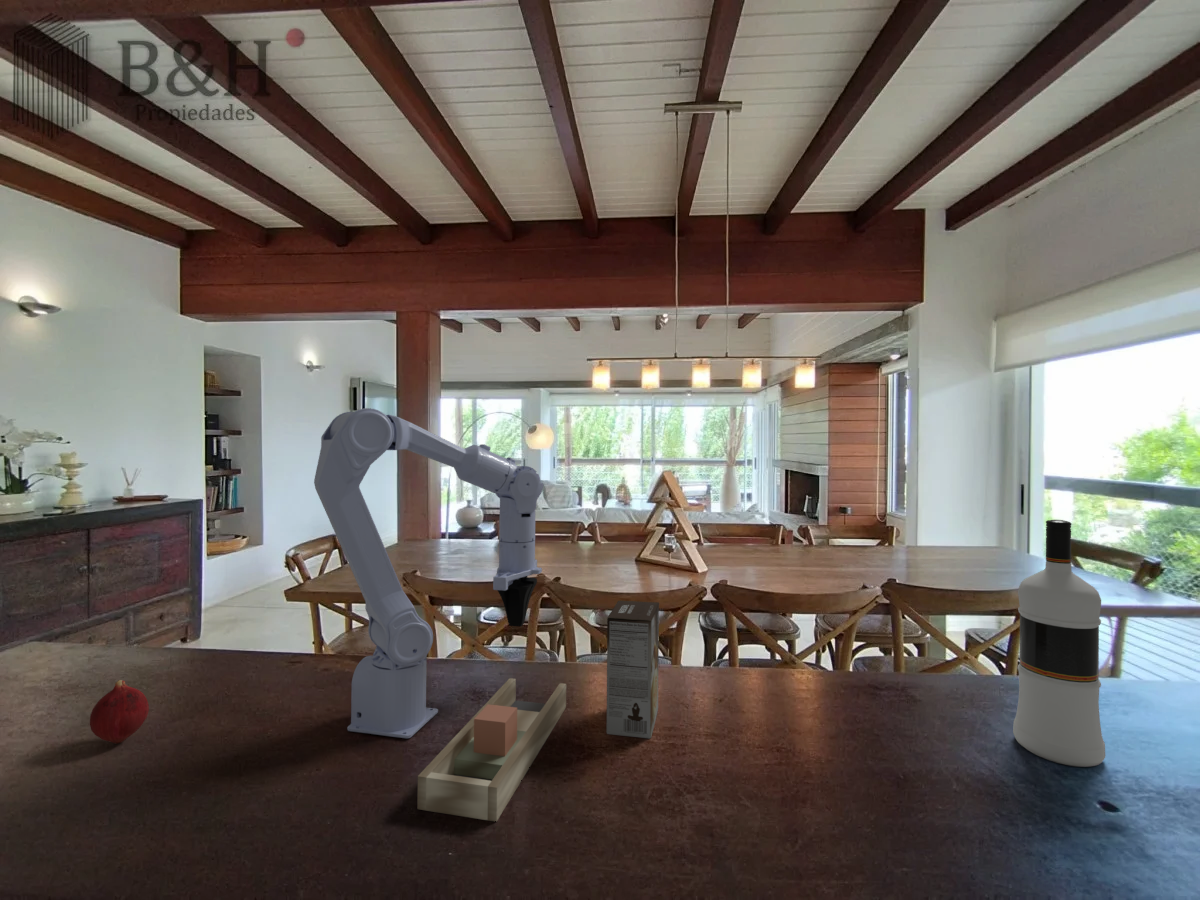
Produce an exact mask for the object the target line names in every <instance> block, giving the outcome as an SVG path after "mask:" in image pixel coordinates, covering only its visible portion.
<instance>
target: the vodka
mask: <svg viewBox="0 0 1200 900" xmlns="http://www.w3.org/2000/svg"><path fill="white" fill-rule="evenodd" d="M1017 596H1018V605H1019V606H1018V608H1017V610H1018V613H1019V664H1018V665H1017V671H1018V680H1019V682H1018V685H1019V686H1018V702H1017V708H1016V714H1015V718H1014V719H1013V722H1012V723H1013V725H1012V726H1013V727H1012V733H1013V735H1014V738H1015V740H1016V742H1017V743H1018V744H1019V745H1021V747H1022V748H1024V749H1026V750H1027V751H1029V752H1030V753H1031V754H1033V755H1035V756H1037V757H1039V758H1042V759H1043V760H1044V759H1045V760H1047V761H1050V762H1053V763H1057V764H1059V765H1064V766H1068V767H1077V768H1090V767H1096V766H1099V765H1101V764H1102V763H1103V761H1104V760H1105V759H1106V743H1105V741H1104V738H1103V735H1102V734H1103V733H1102V727H1101V719H1100V718H1101V717H1100V706H1099V705H1100V702H1099V701H1100V688H1101V687H1102V682H1101V681H1100V679H1099V678H1100V677H1099V672H1100V671H1099V669H1100V668H1099V666H1100V665H1099V663H1100V661H1099V657H1100V656H1099V655H1100V654H1099V653H1100V651H1099V649H1100V647H1099V646H1100V644H1099V643H1100V642H1099V641H1100V640H1099V639H1100V627H1099V626H1100V625H1101V623H1102V619H1101V618H1100V617H1101V609H1102V598H1101V596H1100V593H1099V591H1098V590H1097V588H1095V587H1094V586H1093V585H1092V584H1090V583H1088V582H1087V581H1086V580H1084V579H1083V578H1081V577H1080V576H1078V575H1077V574H1075V573H1074V572H1073V569H1072V522H1070V521H1067V520H1064V519H1049V520H1046V521H1045V568H1044V569H1043V570H1041V571H1038V572H1036V573H1034V574H1032V575H1030V576H1028V577H1026V578H1024V579H1023V580H1022V581H1021V582H1020V583H1019V587H1018V589H1017Z"/></svg>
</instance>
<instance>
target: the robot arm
mask: <svg viewBox="0 0 1200 900" xmlns="http://www.w3.org/2000/svg"><path fill="white" fill-rule="evenodd" d="M320 439H321V442H320V443H321V444H320V451H319V456H318V461H317V464H316V465H317V466H316V469H315V475H314V481H313V484H314V488H315V491H316V493H317V495H318V498H319V499H320V500H319V501H320V502H321V505H322V507H323V509H324V512H325V513H326V517H327V518H328V521H329V522H330V523H329V524H330V525H331V527H332V529H333V531H334V534H335V537H336V539H337V540H338V543H339V545H340V546H341V549H342V551H343V554H344V556H345V558H346V561H347V563H348V565H349V567H350V570H351V572H352V574H353V577H354V579H355V581H356V584H357V585H358V587H359V590H360V592H361V594H362V598H363V600H364V601H365V606H364V607H365V612H366V614H367V617H368V627H367V628H368V629H367V631H368V637H369V638H370V641H371V642H372V643H373V644H374V645H375V649H374V652H373V654H372V655H367V656H365V657H363V658H362V659H361V660H360V661H359V663H358V664H357V665H356V667H355V669H354V672H353V675H352V680H351V694H350V695H351V701H350V702H351V703H350V704H351V707H350V708H351V709H350V710H351V713H350V717H351V718H350V724H349V725H348V726H347V732H354V733H360V734H369V735H370V734H371V735H378V736H385V737H393V738H402V739H410V738H412V737H414V735H415V734H416V733H417V732H418V731H419V730H420V729H422V727H424V726H425V725H426V724H427V723H428V722H429V721H430V720H431V719H433V718H434V716H436V715H437V714H438V713H439V709H438V708H436V707H427V655H428V654H429V652H430V651H431V650H432V649H431V648H432V646H433V642H434V634H433V629H432V627H431V625H430V624H429V623H428V622H427V621H426V620H424V619H423V618H421V617H420V616H419V614H418V612H417V610H416V608H415V605H413V603H412V601H411V600H410V599H409V597H408V596H407V594H406V593H405V591H404V589H403V588H402V585H401V583H400V580H399V578H398V575H397V573H396V571H395V569H394V565H393V564H392V562H391V559H390V556H389V555H388V552H387V549H386V547H385V545H384V543H383V540H382V538H381V535H380V533H379V531H378V529H377V526H376V524H375V521H374V519H373V517H372V514H371V512H370V510H369V507H368V505H367V502H366V500H365V498H364V495H363V493H362V491H361V489H360V486H361V483H362V481H363V479H364V477H365V476H366V474H367V472H368V471H369V469H370V468H371V465H372V464H373V463H374V462H376V461H377V460H378V459H379V458H380V457H381V456H383V454H384V453H386V451H403V450H406V451H409V452H412V453H414V454H417V455H419V456H423V458H424V457H425V458H428V459H431V460H434V461H435V462H439V464H440V463H441V464H444V465H445V466H449V467H452V468H453V469H454V471H455V474H456V476H457V478H458V479H459V480H460V481H463V482H466V483H468V484H471V485H472V486H476V487H478V488H480V489H482V490H485V491H487V492H490V493H492V494H495V495H496V496H497V498H499V523H498V525H499V528H498V529H499V532H498V534H499V535H498V537H499V539H498V542H499V543H498V567H497V570H496V573H495V576H493V579H492V581H493V582H492V583H493V587H492V590H494V591H497V592H498V594H499V597H500V598H501V601H502V603H503V606H504V609H505V614H506V615H505V616H506V618H507V623H508V626H510V627H522V626H523V625H524V624H525V620H526V617H527V611H528V607H529V604H530V599H531V596H532V594H533V591H534V590H535V587H536V586H537V583H538V578H537V577H528V576H532V575H540V574H541V573H543V569H542V567H540V566H539V567H538V559H536V509H537V504H538V503H537V502H538V499H539V497H540V496H541V494H542V492H543V488H544V483H543V482H541V478H540V475H539V473H537V471H536V469H534V468H533V467H531V466H528V465H517V463H516V459H515V458H512V457H509V456H508V457H507V458H506V457H503V456H501V455H499V454H497V453H495V452H493V451H491V446H489V445H487V444H479V445H477V444H472V445H470V446H467V447H465V448H463V447H461V446H459V445H457V444H455V443H453V442H451V441H449V440H447V439H445V438H443V437H441V436H439V435H436V434H435V433H433V432H431V431H429V430H427V429H425V428H423V427H420V426H419V425H417V424H414V423H413V422H411V421H408V420H405V419H404V418H401V417H400V416H396V415H393V414H385V413H383V412H382V411H380V410H378V409H375V408H371V407H370V408H369V407H366V408H360V409H357V410H355V411H346V412H342V413H340V414H339V415H336V416H335V417H334V418H333V419H332V421H331V422H330V423H329V424H328V426H327V428H326V429H325V431H324V432H323V434H322V435H321V438H320Z"/></svg>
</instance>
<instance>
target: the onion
mask: <svg viewBox="0 0 1200 900" xmlns="http://www.w3.org/2000/svg"><path fill="white" fill-rule="evenodd" d="M149 711H150V705H149V702H148V699H147V697H146V695H145V694H144V693H143V692H142V691H141V690H139V689H138V688H135V687H131V686H128V684H126V681H125V680H123V679H118V680H117V681H116V682H115V683H114V687H113V689H111V690H110V691H109V692H107V693H106V694H104V695H103V696H102V697H101V698H100V699H99V700H98V701H97V702H96V704H95V705H94V706H93V708H92V711H91V713H90V716H89V726H90V731H91V732H92V733H93V734H94V735H95V736H96V737H98V738H99V739H100V740H103V741H104V742H105V741H106V742H109V743H113V744H116V745H117V744H121V743H123V742H124V741H126V740H127V739H128V738H130V737H131V736H132V735H133V734H135V733H136V732H137V731H138V730H139V729H140V728H141V727H142V726H143V724H144V723H145V721H146V719H147V718H148V715H149Z"/></svg>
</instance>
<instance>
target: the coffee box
mask: <svg viewBox="0 0 1200 900" xmlns="http://www.w3.org/2000/svg"><path fill="white" fill-rule="evenodd" d="M659 611H660V602H659V601H658V602H655V601H639V600H638V601H636V600H618V601H617V602H616V603H615V605H614V607H613V609H612V610H611V612H610V613H609V615H608V616H607V618H606V619H607V620H606V622H607V623H606V626H607V627H606V637H607V638H606V734H607V735H613V736H620V737H621V736H623V737H630V738H631V737H633V738H642V739H649V740H650V739H651V738H652V735H653V733H654V732H653V731H654V728H655V724H656V721H657V715H658V711H659V647H660V646H659V640H660V639H659V637H660V635H659V633H660V632H659V631H660V629H659V627H660V626H659V624H660V622H659V619H660V618H659V617H660V615H659V614H660V612H659Z"/></svg>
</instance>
